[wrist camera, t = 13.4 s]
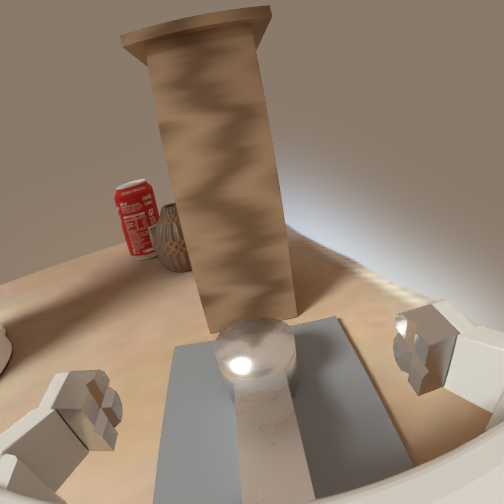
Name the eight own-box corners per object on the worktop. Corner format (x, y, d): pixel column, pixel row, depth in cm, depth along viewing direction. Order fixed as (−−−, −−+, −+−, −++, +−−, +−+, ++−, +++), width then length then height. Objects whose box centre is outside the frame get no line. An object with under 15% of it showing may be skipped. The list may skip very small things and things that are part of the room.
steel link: (240, 610, 7) (216, 607, 5) (226, 366, 23) (214, 324, 22) (357, 592, 7) (369, 584, 5) (292, 354, 23) (286, 311, 22)
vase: (203, 251, 49) (190, 194, 45) (215, 267, 42) (200, 202, 39) (159, 265, 47) (143, 208, 43) (165, 283, 40) (146, 217, 37)
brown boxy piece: (193, 342, 28) (117, 13, 17) (200, 282, 39) (150, 47, 28) (316, 319, 28) (264, -16, 18) (290, 264, 39) (251, 27, 29)
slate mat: (153, 582, 8) (148, 580, 8) (176, 351, 27) (174, 346, 27) (439, 532, 9) (443, 528, 8) (335, 321, 27) (335, 316, 27)
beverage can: (158, 243, 56) (140, 177, 51) (174, 250, 51) (156, 177, 47) (126, 257, 52) (107, 189, 48) (140, 265, 48) (118, 189, 43)
